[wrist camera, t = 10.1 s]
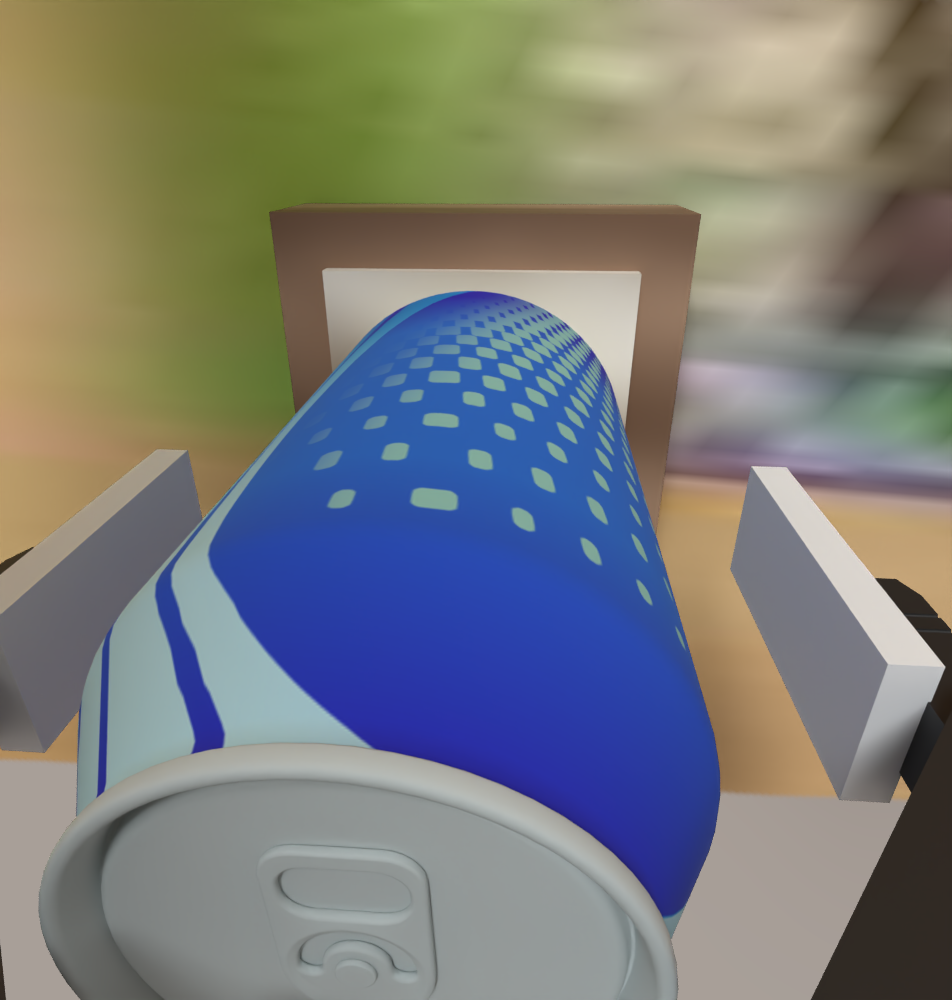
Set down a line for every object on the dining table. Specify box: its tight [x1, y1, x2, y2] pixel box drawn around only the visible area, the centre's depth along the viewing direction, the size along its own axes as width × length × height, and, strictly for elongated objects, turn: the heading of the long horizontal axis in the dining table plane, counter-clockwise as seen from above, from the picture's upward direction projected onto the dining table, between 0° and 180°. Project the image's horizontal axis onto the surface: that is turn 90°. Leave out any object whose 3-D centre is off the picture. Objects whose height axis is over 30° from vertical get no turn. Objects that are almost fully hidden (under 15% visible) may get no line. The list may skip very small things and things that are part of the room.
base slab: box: [269, 203, 701, 534], centre depth 23 cm, size 12×12×4 cm
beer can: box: [39, 291, 720, 1000], centre depth 14 cm, size 8×8×16 cm
